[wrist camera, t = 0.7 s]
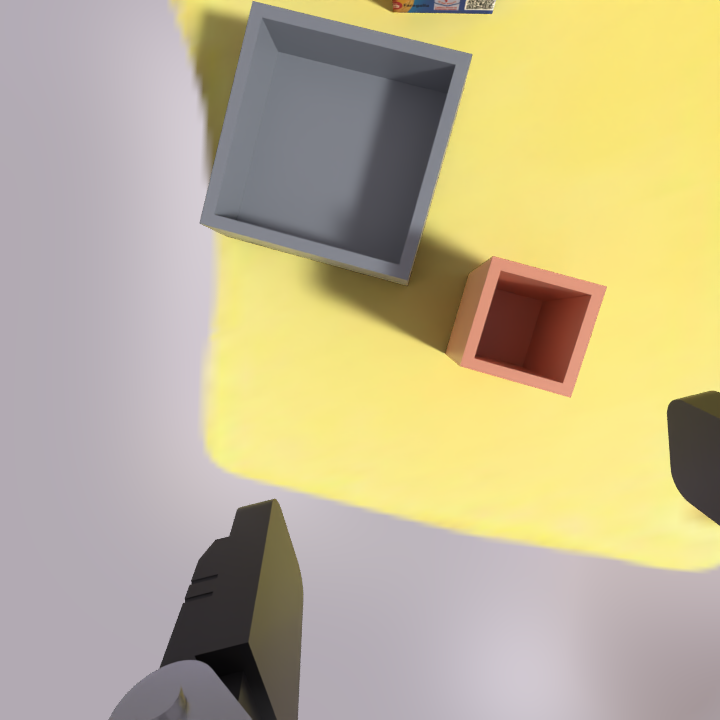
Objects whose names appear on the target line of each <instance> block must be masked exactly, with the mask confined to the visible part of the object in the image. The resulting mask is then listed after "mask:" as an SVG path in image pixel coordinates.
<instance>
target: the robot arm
mask: <svg viewBox="0 0 720 720" xmlns="http://www.w3.org/2000/svg"><path fill="white" fill-rule="evenodd" d="M667 420H668V435H669V450H670V464H671V473H672V477H673V480H674V483H675V485H676V487H677V489H678V490H679V492H680V493H681V495H682V496H683V497H684V498H685V499H686V500H687V501H688V502H689V503H690V504H692V505H693V506H694V507H696V508H697V509H698V510H700V511H701V512H702V513H704V514H705V515H706V516H708V517H709V518H710V519H712V520H713V521H714V522H716V523H717V524H718V525H720V393H719V392H716V391H708V392H704V393H700V394H696V395H692V396H688V397H684V398H680V399H676V400H673V401H672V402H671V403H670V404H669V406H668V410H667ZM191 582H192V585H190V586H189V588H188V591H187V594H186V597H185V603H183V605H182V608H181V611H180V613H179V616H178V619H177V622H176V624H175V627H174V630H173V632H172V635H171V638H170V641H169V643H168V646H167V649H166V652H165V654H164V657H163V660H162V663H161V666H160V668H159V669H158V670H156V671H154V672H152V673H151V674H149V675H148V676H146V677H145V678H144V679H142V680H141V681H140V682H139V683H137V684H136V685H135V686H134V687H133V688H132V689H131V690H130V691H129V692H128V693H127V694H126V695H125V696H124V697H123V699H122V700H121V701H120V702H119V704H118V705H117V706H116V708H115V709H114V711H113V713H112V715H111V716H110V718H109V720H298V701H299V680H300V657H301V637H302V615H303V614H302V613H303V585H302V578H301V572H300V569H299V564H298V561H297V558H296V554H295V551H294V548H293V545H292V542H291V539H290V536H289V533H288V529H287V526H286V523H285V520H284V517H283V513H282V510H281V507H280V505H279V503H278V501H277V500H276V499H272V500H268V501H264V502H260V503H256V504H252V505H248V506H244V507H240V508H238V510H237V512H236V516H235V519H234V522H233V526H232V529H231V532H230V536H229V537H225V538H221V539H217V540H215V541H214V542H213V544H212V545H211V546H210V547H209V548H208V550H207V551H206V552H205V553H204V554H203V556H202V557H201V558H200V559H199V561H198V564H197V566H196V569H195V572H194V574H193V577H192V580H191Z"/></svg>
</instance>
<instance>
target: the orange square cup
mask: <svg viewBox="0 0 720 720" xmlns="http://www.w3.org/2000/svg"><path fill="white" fill-rule="evenodd" d="M606 288H607V287H606V286H603V285H599V284H595V283H591V282H588V281H584V280H580V279H577V278H573V277H569V276H565V275H562V274H558V273H554V272H550V271H547V270H543V269H539V268H536V267H532V266H528V265H524V264H521V263H517V262H513V261H509V260H506V259H502V258H498V257H495V256H493V257H491V258H490V259H488V260H487V261H486V262H484V263H483V264H482V265H480V266H479V267H477V268H476V269H475V270H473V271H472V272H471V273H469V275H468V278H467V282H466V285H465V288H464V292H463V295H462V298H461V302H460V305H459V309H458V312H457V315H456V319H455V322H454V325H453V329H452V332H451V335H450V339H449V342H448V346H447V349H446V352H445V354H446V355H447V356H448V357H450V358H451V359H452V360H453V361H454V362H456V363H457V364H458V365H459V366H461V367H465V368H469V369H472V370H476V371H479V372H483V373H486V374H490V375H493V376H497V377H500V378H504V379H507V380H511V381H514V382H518V383H521V384H525V385H528V386H532V387H535V388H539V389H542V390H546V391H549V392H553V393H557V394H560V395H564V396H567V397H571V395H572V392H573V389H574V386H575V383H576V380H577V377H578V374H579V371H580V368H581V365H582V361H583V358H584V355H585V352H586V349H587V346H588V343H589V340H590V337H591V334H592V331H593V328H594V325H595V322H596V319H597V316H598V312H599V309H600V306H601V303H602V300H603V297H604V294H605V291H606Z"/></svg>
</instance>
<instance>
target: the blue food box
mask: <svg viewBox="0 0 720 720" xmlns="http://www.w3.org/2000/svg"><path fill="white" fill-rule="evenodd" d="M392 1H393V12H401V13H463V14H492V12H493V9H494V5H495V2H496V0H392Z"/></svg>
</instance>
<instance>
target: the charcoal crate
mask: <svg viewBox="0 0 720 720" xmlns="http://www.w3.org/2000/svg"><path fill="white" fill-rule="evenodd" d="M471 58H472V54H469V53H465V52H461V51H457V50H453V49H449V48H444V47H440V46H436V45H432V44H428V43H424V42H420V41H416V40H411V39H407V38H403V37H399V36H395V35H391V34H387V33H382V32H378V31H374V30H370V29H366V28H362V27H358V26H354V25H349V24H345V23H341V22H337V21H333V20H329V19H325V18H321V17H316V16H312V15H308V14H304V13H300V12H296V11H292V10H288V9H283V8H279V7H275V6H271V5H267V4H263V3H259V2H254V1H253V2H252V6H251V11H250V15H249V19H248V23H247V27H246V32H245V36H244V40H243V44H242V48H241V52H240V57H239V61H238V65H237V69H236V73H235V77H234V82H233V86H232V90H231V94H230V98H229V102H228V107H227V111H226V115H225V119H224V123H223V128H222V132H221V136H220V140H219V144H218V148H217V153H216V157H215V161H214V165H213V169H212V173H211V178H210V182H209V186H208V190H207V194H206V199H205V203H204V207H203V211H202V215H201V220H200V224H202V225H204V226H206V227H208V228H210V229H212V230H215V231H217V232H219V233H221V234H223V235H225V236H228V237H231V238H235V239H239V240H242V241H246V242H249V243H253V244H257V245H260V246H264V247H268V248H271V249H275V250H278V251H282V252H286V253H289V254H293V255H297V256H300V257H304V258H308V259H311V260H315V261H318V262H322V263H326V264H329V265H333V266H337V267H340V268H344V269H348V270H351V271H355V272H358V273H362V274H366V275H369V276H373V277H377V278H380V279H384V280H387V281H391V282H395V283H398V284H402V285H406V286H408V283H409V279H410V276H411V272H412V269H413V265H414V262H415V258H416V255H417V251H418V248H419V244H420V241H421V237H422V234H423V230H424V227H425V223H426V220H427V216H428V213H429V209H430V206H431V202H432V199H433V195H434V192H435V188H436V185H437V181H438V178H439V174H440V171H441V167H442V164H443V160H444V157H445V153H446V150H447V146H448V143H449V139H450V136H451V132H452V129H453V125H454V122H455V118H456V115H457V111H458V107H459V104H460V100H461V97H462V93H463V90H464V86H465V82H466V78H467V74H468V70H469V66H470V62H471Z"/></svg>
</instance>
